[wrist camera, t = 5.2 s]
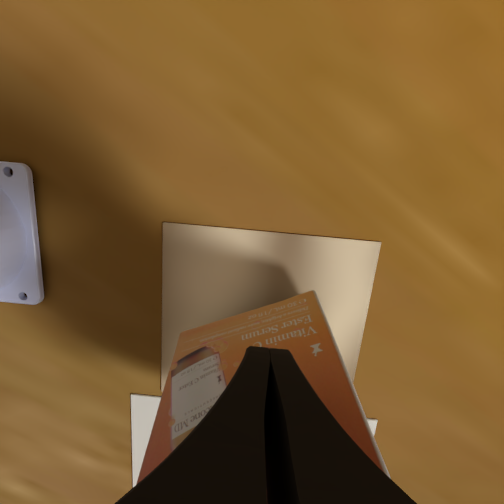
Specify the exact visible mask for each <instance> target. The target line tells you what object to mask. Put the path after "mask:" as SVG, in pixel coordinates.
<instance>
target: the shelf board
mask: <svg viewBox="0 0 504 504" xmlns="http://www.w3.org/2000/svg"><path fill="white" fill-rule="evenodd" d="M380 246H381V242H375V241H364V240H353V239H342V238H332V237H321V236H310V235H299V234H288V233H277V232H266V231H255V230H244V229H233V228H223V227H212V226H201V225H190V224H179V223H168V222H163V259H162V365H161V391H163V390H164V386H165V383H166V379H167V376H168V372H169V369H170V365H171V362H172V358H173V355H174V351H175V348H176V344H177V341H178V338H179V335H180V333H181V332H182V331H184V330H187V329H190V328H194V327H199V326H202V325H206V324H209V323H212V322H215V321H218V320H222V319H225V318H228V317H231V316H235V315H238V314H241V313H244V312H248V311H251V310H254V309H258V308H261V307H264V306H267V305H270V304H274V303H277V302H280V301H283V300H286V299H288V298H291V297H294V296H296V295H299V294H302V293H305V292H308V291H311V290H314V291H316V293H317V296H318V298H319V300H320V303H321V305H322V308H323V310H324V313H325V315H326V318H327V320H328V323H329V325H330V328H331V330H332V333H333V336H334V338H335V341H336V343H337V346H338V348H339V351H340V353H341V356H342V358H343V360H344V363H345V365H346V368H347V370H348V373H349V375H350V378H351V380H352V383H353V381H354V376H355V371H356V366H357V361H358V356H359V351H360V346H361V341H362V336H363V331H364V326H365V321H366V316H367V311H368V306H369V301H370V296H371V291H372V286H373V281H374V276H375V271H376V266H377V261H378V256H379V251H380Z"/></svg>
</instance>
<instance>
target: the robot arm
mask: <svg viewBox="0 0 504 504" xmlns="http://www.w3.org/2000/svg"><path fill="white" fill-rule="evenodd" d="M10 169H12V170H13V175H11V174H10ZM24 293H25V294H26V295H27V297H26V296H25V294H24ZM43 299H44V288H43V278H42V268H41V257H40V247H39V237H38V227H37V217H36V207H35V197H34V186H33V176H32V171H31V169H30V168H29V166H27V165H26V164H23V163H15V162H3V161H0V302H10V303H20V304H30V305H35V304H38V303H40V302H41V301H43ZM266 490H267V492H266ZM115 504H417V503H416V502H414V501H413V500H412V499H411V498H410V497H409V496H408V495H407V494H406V493H405V492H404V491H403V490H402V489H401V488H400V487H398V486H397V485H396V484H395V483H394V482H393V481H392V480H391V479H390V478H389V477H388V476H387V475H386V474H385V473H384V472H383V471H382V470H381V469H380V468H379V467H378V466H377V465H376V464H375V463H374V462H373V461H372V460H371V459H370V458H369V457H368V456H367V455H366V454H365V453H364V452H363V450H362V449H361V448H360V447H359V446H358V445H357V444H356V443H355V442H354V441H353V440H352V438H351V437H350V436H349V435H348V434H347V433H346V431H345V430H344V429H343V428H342V427H341V425H340V424H339V423H338V422H337V420H336V419H335V418H334V417H333V415H332V414H331V413H330V411H329V410H328V409H327V407H326V406H325V405H324V403H323V402H322V401H321V399H320V398H319V396H318V395H317V394H316V392H315V391H314V389H313V388H312V386H311V385H310V383H309V382H308V380H307V379H306V377H305V376H304V374H303V372H302V371H301V369H300V368H299V366H298V364H297V363H296V361H295V359H294V357H293V355H292V354H291V352H290V351H289V350H288V349H277V348H267V347H257V346H249V347H248V348H247V349H246V352H245V355H244V357H243V359H242V361H241V363H240V365H239V367H238V369H237V371H236V372H235V374H234V376H233V377H232V379H231V381H230V382H229V384H228V385H227V387H226V388H225V390H224V391H223V393H222V394H221V395H220V397H219V398H218V399H217V401H216V402H215V404H214V405H213V406H212V408H211V409H210V410H209V411H208V413H207V414H206V415H205V416H204V418H203V419H202V420H201V421H200V422H199V424H198V425H197V426H196V427H195V428H194V429H193V430H192V431H191V433H190V434H189V435H188V436H187V437H186V438H185V439H184V440H183V441H182V442H181V443H180V444H179V445H178V446H177V447H176V448H175V449H174V450H173V451H172V452H171V453H170V454H169V455H168V456H167V457H166V458H165V459H164V460H163V461H162V462H161V463H160V464H159V465H158V466H157V467H156V468H155V469H154V470H153V471H152V472H151V473H149V474H148V475H147V476H146V477H145V478H144V479H143V480H141V481H140V482H139V483H138V484H137V485H136V486H134V487H133V488H132V489H131V490H130V491H129V492H128V493H126V494H125V495H124V496H123V497H122V498H121V499H120V500H118V501H117V502H116V503H115Z"/></svg>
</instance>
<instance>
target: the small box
mask: <svg viewBox="0 0 504 504" xmlns="http://www.w3.org/2000/svg"><path fill="white" fill-rule="evenodd" d="M249 346H257V347H267V348H277V349H288V350H289V351H290V352H291V354H292V355H293V357H294V359H295V361H296V363H297V364H298V366H299V368H300V369H301V371H302V372H303V374H304V376H305V377H306V379H307V380H308V382H309V383H310V385H311V386H312V388H313V389H314V391H315V392H316V394H317V395H318V396H319V398H320V399H321V401H322V402H323V403H324V405H325V406H326V407H327V409H328V410H329V411H330V413H331V414H332V415H333V417H334V418H335V419H336V420H337V422H338V423H339V424H340V425H341V427H342V428H343V429H344V430H345V431H346V433H347V434H348V435H349V436H350V437H351V438H352V440H353V441H354V442H355V443H356V444H357V445H358V446H359V447H360V448H361V449H362V450H363V452H364V453H365V454H366V455H367V456H368V457H369V458H370V459H371V460H372V461H373V462H374V463H375V464H376V465H377V466H378V467H379V468H380V469H381V470H382V471H383V472H384V473H385V474H386V475H387V476H388V477H389V478H390V475H389V473H388V470H387V468H386V465H385V463H384V460H383V458H382V456H381V453H380V451H379V448H378V446H377V443H376V441H375V438H374V436H373V433H372V431H371V428H370V426H369V423H368V421H367V418H366V416H365V413H364V411H363V408H362V406H361V403H360V401H359V398H358V395H357V393H356V390H355V388H354V385H353V383H352V380H351V378H350V375H349V373H348V370H347V368H346V365H345V363H344V360H343V358H342V356H341V353H340V351H339V348H338V346H337V343H336V341H335V338H334V336H333V333H332V330H331V328H330V325H329V323H328V320H327V318H326V315H325V313H324V310H323V308H322V305H321V303H320V300H319V298H318V296H317V293H316V291H314V290H311V291H308V292H305V293H302V294H299V295H296V296H294V297H291V298H288V299H286V300H283V301H280V302H277V303H274V304H270V305H267V306H264V307H261V308H258V309H254V310H251V311H248V312H244V313H241V314H238V315H235V316H231V317H228V318H225V319H222V320H218V321H215V322H212V323H209V324H206V325H202V326H199V327H194V328H190V329H187V330H184V331H182V332H181V333H180V335H179V338H178V341H177V344H176V348H175V351H174V355H173V358H172V362H171V365H170V369H169V372H168V376H167V379H166V383H165V386H164V390H163V393H162V396H161V400H160V403H159V407H158V410H157V414H156V417H155V421H154V424H153V428H152V431H151V435H150V438H149V442H148V445H147V448H146V452H145V455H144V459H143V462H142V466H141V470H140V473H139V477H138V480H137V484H138V483H139V482H140V481H141V480H143V479H144V478H145V477H146V476H147V475H148V474H149V473H151V472H152V471H153V470H154V469H155V468H156V467H157V466H158V465H159V464H160V463H161V462H162V461H163V460H164V459H165V458H166V457H167V456H168V455H169V454H170V453H171V452H172V451H173V450H174V449H175V448H176V447H177V446H178V445H179V444H180V443H181V442H182V441H183V440H184V439H185V438H186V437H187V436H188V435H189V434H190V433H191V431H192V430H193V429H194V428H195V427H196V426H197V425H198V424H199V422H200V421H201V420H202V419H203V418H204V416H205V415H206V414H207V413H208V411H209V410H210V409H211V408H212V406H213V405H214V404H215V402H216V401H217V399H218V398H219V397H220V395H221V394H222V393H223V391H224V390H225V388H226V387H227V385H228V384H229V382H230V381H231V379H232V377H233V376H234V374H235V372H236V371H237V369H238V367H239V365H240V363H241V361H242V359H243V357H244V355H245V352H246V349H247V348H248V347H249ZM390 479H391V478H390ZM137 484H136V485H137ZM266 492H267V490H266Z"/></svg>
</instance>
